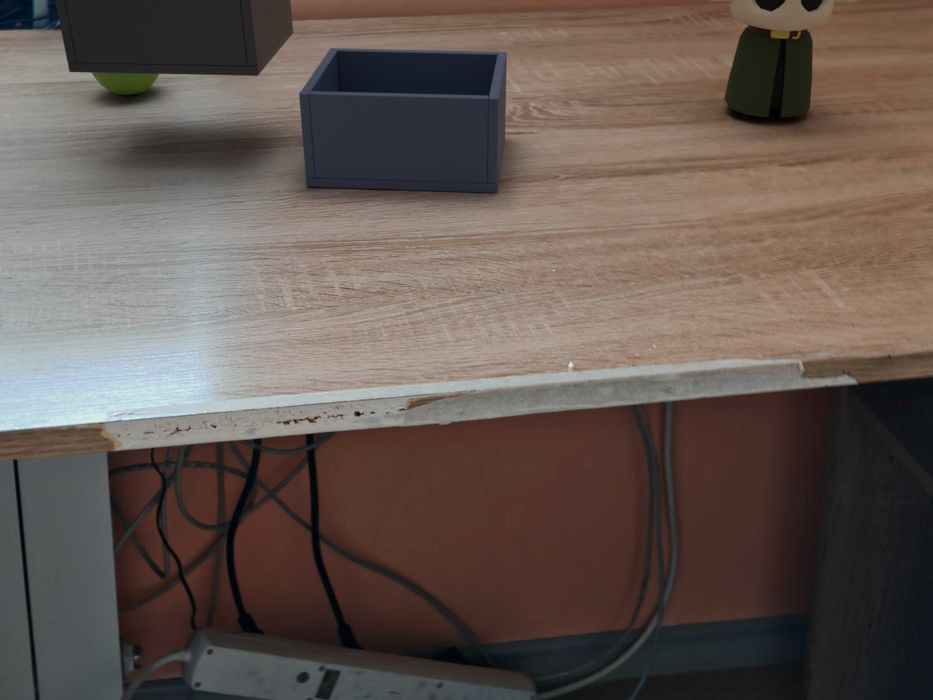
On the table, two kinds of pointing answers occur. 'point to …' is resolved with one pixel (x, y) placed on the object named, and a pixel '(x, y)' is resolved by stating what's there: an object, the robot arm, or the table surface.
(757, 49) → the green robed panda doll
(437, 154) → the box
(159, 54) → the box
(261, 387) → the table surface
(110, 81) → the figurine on green ball
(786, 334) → the table surface
